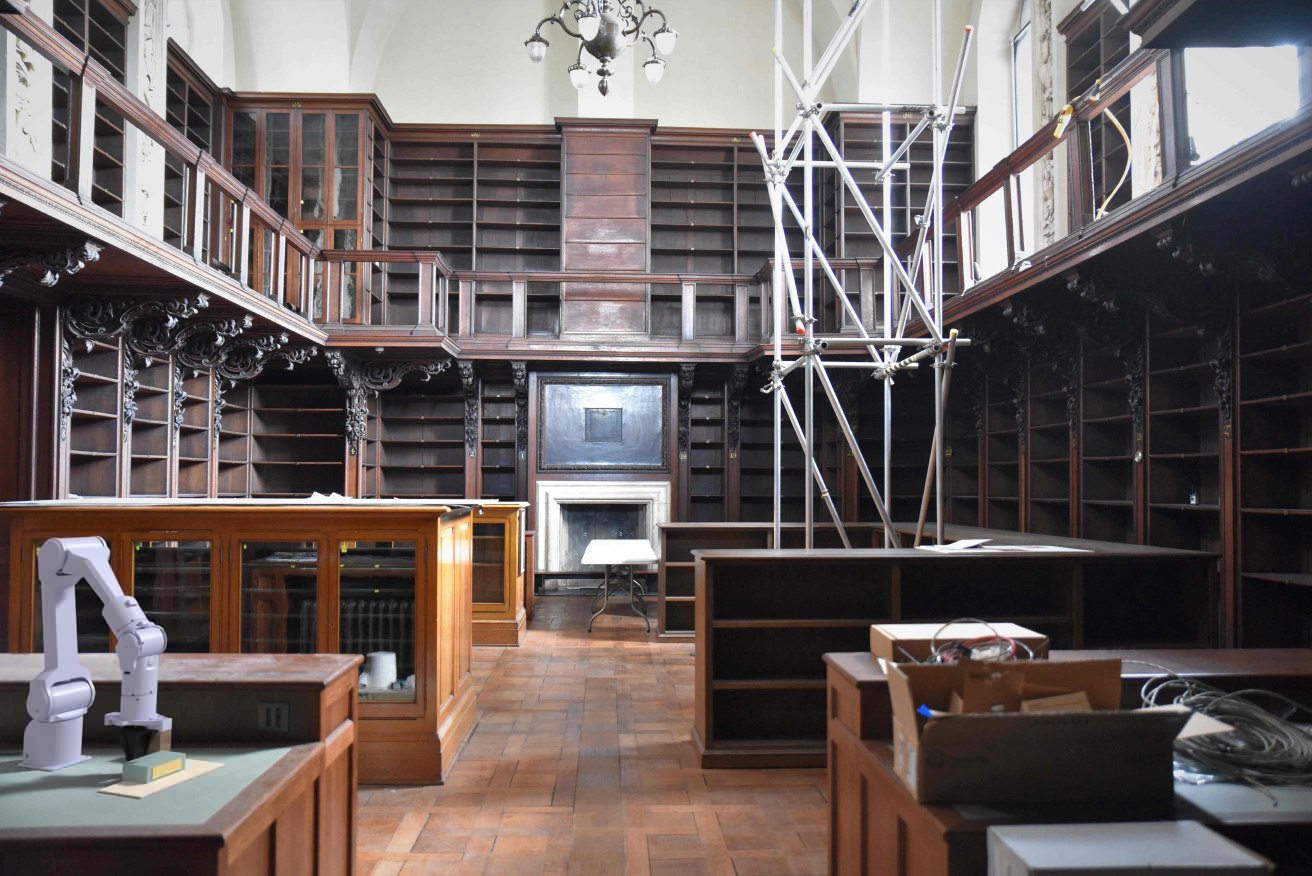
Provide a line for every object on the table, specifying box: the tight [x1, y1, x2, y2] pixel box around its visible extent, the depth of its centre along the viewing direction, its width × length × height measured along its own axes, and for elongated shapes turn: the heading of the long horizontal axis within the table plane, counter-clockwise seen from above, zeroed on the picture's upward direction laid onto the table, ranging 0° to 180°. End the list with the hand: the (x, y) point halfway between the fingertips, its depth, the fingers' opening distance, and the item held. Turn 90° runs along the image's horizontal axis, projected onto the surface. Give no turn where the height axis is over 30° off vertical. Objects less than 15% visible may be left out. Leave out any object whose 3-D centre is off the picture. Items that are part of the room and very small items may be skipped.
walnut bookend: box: [146, 728, 172, 756], centre depth 161 cm, size 5×2×6 cm, turn 72°
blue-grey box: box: [121, 750, 187, 784], centre depth 150 cm, size 3×8×6 cm
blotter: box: [97, 758, 227, 800], centre depth 149 cm, size 10×18×1 cm, turn 162°
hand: (135, 766), depth 151 cm, fingers closed
